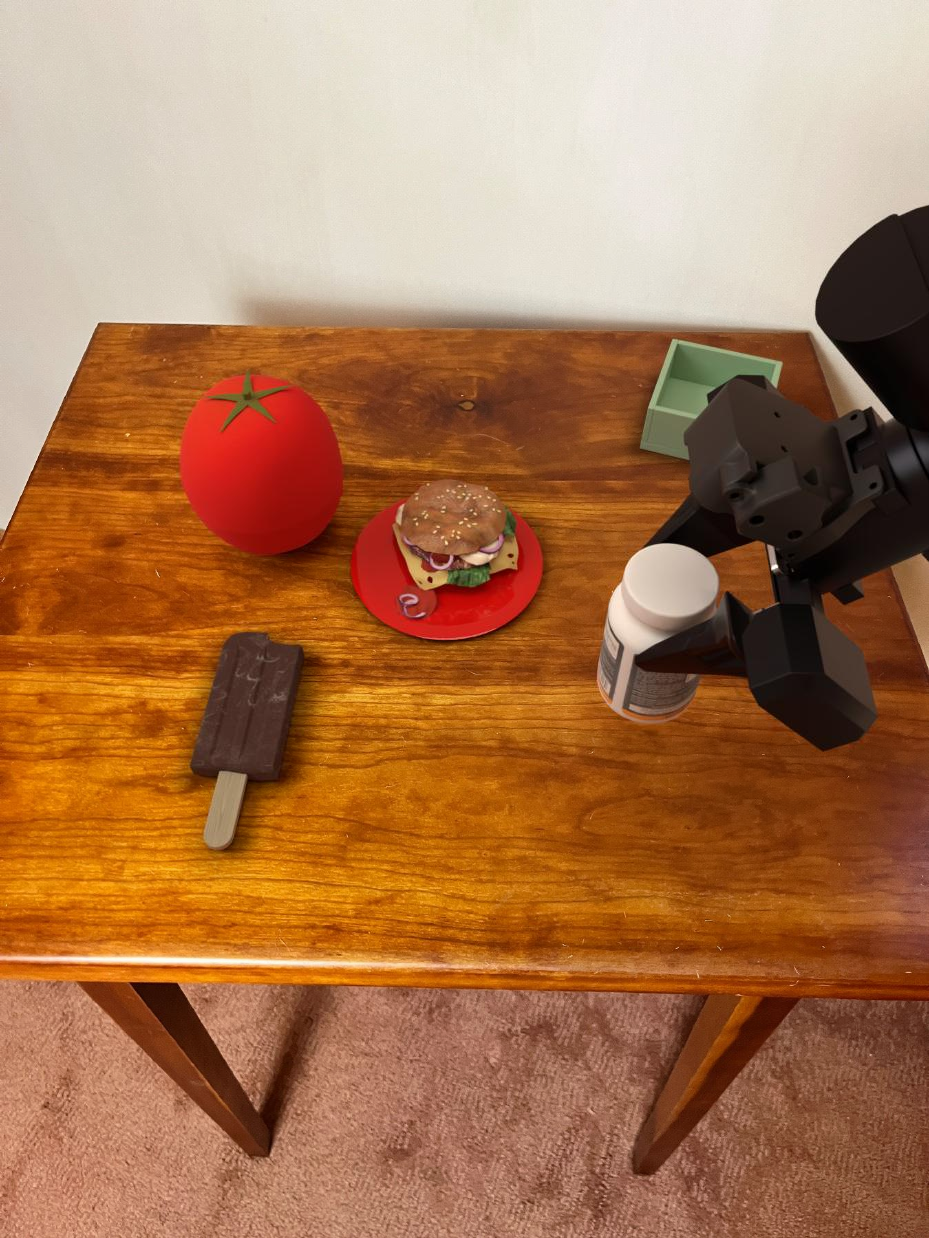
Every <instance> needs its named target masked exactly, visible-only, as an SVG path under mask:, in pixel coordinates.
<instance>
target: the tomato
mask: <svg viewBox="0 0 929 1238" xmlns="http://www.w3.org/2000/svg"><path fill="white" fill-rule="evenodd" d="M179 467H180V471H179V472H180V482H181V483H180V484H181V486H182V489H183V492H184V493H185V495H186V498H187V500H188V501H189V502H188V503H189V504H190V507H191V508H192V510H193V511H194V513H195V514H196V515H197V517H198V518H199V519H200V521H201V522H202V523H203V524H204V526H205V527H206V528H207V529H208V530H209V531H210V532H211V533H213V534H214V535H215V536H217V537H218V538H219V539H221V540H222V541H223V542H224V543H225V544H228V545H230V546H231V547H234V548H236V549H238V550H241V551H244V552H246V553H248V554H253V555H259V556H271V555H279V554H283V553H287V552H290V551H294V550H298V549H299V548H301V547H303V546H305V545H307V544H308V543H310V542H312V541H314V540H315V539H317V537H319V536H320V535H321V534H322V533H323V532H324V531H325V529H326V528H327V527H328V525H329V523H330V522H331V521H332V520H333V518H334V517H335V515H336V512H337V510H338V507H339V504H340V502H341V499H342V495H343V491H344V465H343V459H342V455H341V450H340V445H339V440H338V437H337V436H336V433H335V430H334V428H333V425H332V423H331V421H330V419H329V416H328V415H327V413H326V412H325V411H324V409H323V408H322V406H320V404H319V403H318V402H317V401H316V400H315V399H314V398H313V397H312V396H311V395H310V394H308V392H307V391H305V390H303V389H302V388H301V387H299V386H298V385H296V383H293V382H290V381H287V380H284V379H281V378H277V377H274V376H268V375H263V374H250V371H249V368H247V369H246V372H245V374H244V375H243V374H242V375H234V376H232V377H229V378H225V379H223V380H221V381H220V382H217V383H216V384H215V385H213V386H212V387H211V388H209V390H208V391H207V392H205V393H204V394H203V396H201V398H200V399H199V400H198V401H197V403H196V404H195V405H194V407H193V408H192V410H191V412H190V415H189V417H188V419H187V421H186V424H185V426H184V429H183V432H182V436H181V442H180V451H179Z"/></svg>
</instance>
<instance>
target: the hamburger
mask: <svg viewBox="0 0 929 1238" xmlns="http://www.w3.org/2000/svg"><path fill="white" fill-rule="evenodd" d="M543 571H544V559H543V553H542V549H541V545H540V543H539V539H538V538H537V536H536V534H535V532H534V531H533V529H532V528H531V527H530V525H529V524H528V523H527V522H526V520H524V518H523V517H521V516H520V515H519V514H518V513H516V512H515V511H514V510H512V509H511V508H510V507H508V505H505V504H503V502H502V500H501V499H500V497H499V496H498V495H496V493H494V492H493V491H491V490H490V488H489V487H488V486H484V485H480V484H474V483H469V482H464V481H461V480H458V479H452V478H447V479H446V478H444V479H438V480H435V481H431V482H429V483H426V484H423V485H420V486H419V485H418V487H417V488H416V490H415V491H414V493H412V494H411V495H410V496H408V497H406V498H403V499H401V500H398V501H396V502H394V503H392V504H390V505H388V506H387V507H386V508H384V509H382V510H381V511H380V512H378V513H377V514H376V515H375V516H374V517H373V518H371V519H370V521H369V522H368V523H367V524H366V525H365V526H364V527H363V528H362V530H361V532H360V533H359V535H358V537H357V539H356V540H355V543H354V546H353V549H352V552H351V557H350V577H351V581H352V585H353V588H354V590H355V592H356V594H357V596H358V598H359V600H360V601H361V602H362V604H363V605H364V607H366V609H367V610H368V611H369V613H371V614H372V615H373V616H374V617H376V618H377V619H378V620H379V621H381V622H382V623H384V624H385V625H387V626H389V627H390V628H392V629H394V630H397V631H399V632H401V633H404V634H407V635H410V636H413V637H417V638H421V639H429V640H438V641H451V640H453V641H454V640H463V639H468V638H469V639H470V638H473V637H478V636H481V635H485V634H488V633H490V632H492V631H494V630H496V629H498V628H500V627H502V626H505V625H506V624H507V623H510V622H511V621H512V620H514V618H516V617H517V616H518V615H519V614H521V612H523V611H524V610H525V609H526V607H527V606H528V605H529V604H530V602H531V601H532V599H533V598H534V596H535V595H536V594H537V591H538V589H539V586H540V584H541V581H542V576H543Z"/></svg>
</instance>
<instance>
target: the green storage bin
mask: <svg viewBox="0 0 929 1238" xmlns="http://www.w3.org/2000/svg"><path fill="white" fill-rule="evenodd" d="M782 368H783V361H780V360H775V359H771V358H766V357H761V356H757V355H753V354H752V355H751V354H748V353H743V352H739V351H733V350H730V349H729V350H728V349H723V348H721V347H720V348H719V347H715V346H710V345H705V344H700V343H696V342H692V341H686V340H681V339H676V338H672V340H671V342H670V345H669V348H668V351H667V354H666V356H665V360H664V362H663V365H662V368H661V370H660V373H659V376H658V378H657V381H656V385H655V387H654V390H653V393H652V396H651V399H650V401H649V405H648V407H647V411H646V416H645V421H644V425H643V430H642V436H641V440H640V444H639V445H640V446H639V449H641V450H643V451H644V450H645V451H648V452H652V453H656V454H657V453H658V454H661V455H665V456H670V457H674V458H677V459H682V460H686V461H689V453H688V446H686V445H685V444H684V432H685V430H686V429H687V428H688V427H689V426H690V425H691V424H692V422H693V421H694V420H695V419H696V418H697V417H698V416H699V415H700V413H701V412H702V411H703V410H704V409H705V408H706V407H707V405H708V401H707V394H708V393H709V392H711V391H712V390H714V389H716V388H717V387H719V386H720V385H722V384H724V383H725V382H727V381H728V380H730V379H732V378H733V377H735V376H736V375H764V376H765V377H766V378H767V379H768V380H769V381H770V382H771V383H772V384H773V386H774V387H775V388H776V389H777V390H778V384H779V381H780V377H781V371H782Z"/></svg>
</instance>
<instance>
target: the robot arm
mask: <svg viewBox="0 0 929 1238" xmlns="http://www.w3.org/2000/svg"><path fill="white" fill-rule="evenodd" d="M814 318H815V321H816V324H817V325H818V327H819V328H820V330H821V331H822V332H823V334H824V335H825V336H826V337H827V339H828V340H829V341H830V342H831V343H832V345H833V346H834V347H835V348H836V349H837V351H838V352H839V353H840V355H842V357H843V358H844V359H845V360H846V362H847V363H848V364H849V365H850V366H851V368H852V369H853V370H854V372H855V373H856V374H857V375H858V376H859V377H860V378H861V380H862V381H863V382H864V383H865V385H866V386H867V387H868V388H869V390H870V391H871V392H872V393H873V395H874V396H875V397H876V398H877V399H878V400H879V402H880V403H881V404H882V405H883V406H884V407H885V409H886V410H887V411H888V413H889V414H890V415H891V416H892V417H891V418H889V419H887V420H886V421H885V420H884V419H883V418H882V417H881V416H880V414H879V413H878V412H877V411H876V410H875V408H874V407H873V406H872V405H870V406H869V407H866V408H865V409H863V410H862V409H860V408H855V409H853V410H851V411H849V412H847V413H846V414H844V415H842V416H840V417H838V418H835V419H832V420H828V421H827V420H824V419H821V418H820V417H819V416H816V415H814V413H812V412H811V411H810V410H809V409H807V408H806V407H805V406H803V405H801V404H799V403H796V402H794V401H792V400H790V399H788V398H786V397H785V396H784V395H783V394H782V393H781V392H780V391H779V390H778V388H777V389H776V388H775V387H774V386H773V384H772V383H771V382H770V381H769V380H768V379H767V378H766V377H765V376H764V375H736V376H735V377H733V378H732V379H730V380H728V381H727V382H725V383H724V384H722V385H720V386H719V387H717V388H716V389H714V390H712V391H711V392H709V393H708V394H707V401H708V405H707V407H706V408H705V409H704V410H703V411H702V412H701V413H700V415H699V416H698V417H697V418H696V419H695V420H694V421H693V422H692V424H691V425H690V426H689V427H688V428H687V429H686V430H685V432H684V444H685V445H686V446H688V453H689V460H688V461H689V469H690V471H689V475H688V478H687V479H688V480H687V481H688V486H689V491H690V493H689V494H688V495H687V496H686V498H685V499H684V500H683V502H681V504H680V505H679V507H678V508H677V509H676V510H675V511H674V513H672V515H670V517H669V518H668V519H667V520H666V521H665V522H664V524H662V525H661V527H660V528H659V529H658V530H657V531H656V532H655V533H654V534H653V535H652V537H650V539H649V540H648V541H647V542H646V543H645V544H644V546H643V547H641V549H640V550H642V549H644V548H646V547H649V546H652V545H656V544H678V545H683V546H686V547H689V548H691V549H693V550H696V551H697V552H699V553H700V554H702V555H703V556H705V557H706V558H707V559H708V558H711V557H714V556H717V555H719V554H722V553H725V552H728V551H731V550H734V549H737V548H741V547H744V546H746V545H748V544H749V545H750V544H752V543H754V542H759V543H763V544H764V547H765V552H766V558H767V565H768V569H769V575H770V581H771V587H772V593H773V599H774V603H773V604H771V605H769V606H767V607H759V608H758V609H756V610H752V609H750V608H749V607H748V606H747V605H746V604H744V602H743V601H741V600H740V599H739V598H737V597H736V596H735V595H733V594H732V593H731V592H730V591H729V590H726V591H725V592H724V593H723V595H722V596H721V599H720V601H719V604H718V606H717V611H716V613H715V615H714V616H713V617H712V618H710V619H708V620H706V621H703V622H701V623H699V624H697V625H695V626H693V627H691V628H688V629H686V630H684V631H682V632H680V633H678V634H676V635H673V636H671V637H669V638H667V639H665V640H663V641H661V642H658V643H656V644H654V645H653V646H651V647H649V648H648V649H646V650H645V651H643V652H641V653H640V654H638V655H637V656H635V658H634V664H635V665H636V666H637V667H639V668H640V669H642V670H643V671H645V672H656V673H678V674H700V675H703V676H722V677H734V678H741V679H747V683H748V689H749V692H750V693H751V694H752V696H753V698H754V700H755V702H756V704H757V706H758V707H759V708H760V709H762V710H763V711H765V712H766V713H767V714H769V715H770V716H772V717H773V718H775V719H776V720H777V721H779V722H780V723H782V724H783V725H784V726H786V727H787V728H788V729H790V730H791V731H792V732H794V733H796V734H797V735H798V736H800V737H801V738H802V739H804V740H805V741H806V742H808V743H809V744H811V745H812V746H814V747H815V748H816V749H818V750H819V751H821V752H822V753H824V752H827V751H830V750H833V749H837V748H839V747H843V746H846V745H849V744H852V743H855V742H858V741H860V740H861V739H862V738H864V736H865V735H866V734H867V733H868V732H869V731H870V729H871V728H872V727H873V725H874V724H875V722H876V721H877V719H878V718H879V715H878V710H877V706H876V702H875V698H874V694H873V690H872V685H871V681H870V676H869V672H868V668H867V664H866V660H865V655H864V651H863V649H862V648H861V647H860V646H859V645H857V643H855V642H854V641H853V640H852V639H851V638H850V637H848V636H847V635H846V634H845V633H844V632H843V631H841V630H840V629H839V628H838V627H837V625H835V624H833V623H832V622H831V621H830V620H829V619H828V618H827V616H826V612H825V607H824V602H823V598H822V596H825V595H826V594H831V595H833V597H835V599H837V600H838V602H839V603H841V604H842V605H843V606H846V605H849V604H851V603H853V602H856V601H858V600H861V599H863V598H865V597H866V595H865V591H864V586H863V582H862V580H864V579H865V578H867V577H870V576H872V575H874V574H876V573H879V572H881V571H883V570H886V569H888V568H890V567H894V566H895V565H898V564H900V563H902V562H905V561H907V560H909V559H911V558H914V557H916V556H919V555H922V557H923V558H924V559H925V560H926V561H927V562H928V563H929V204H927V205H923V206H919V207H915V208H914V209H911V210H908V211H907V212H904V213H902V214H900V215H899V214H898V213H892V214H889V215H888V216H886V217H884V218H883V219H881V220H879V221H878V222H876V223H875V224H874V225H873V226H871V227H869V228H868V229H867V230H866V231H864V232H863V233H862V234H861V235H859V236H858V237H856V239H854V241H853V242H852V243H851V244H849V246H848V247H847V248H846V249H844V250H843V252H841V254H840V255H839V256H838V257H837V259H836V260H835V262H834V263H833V264H832V266H831V267H829V269H828V271H827V272H826V275H825V277H824V279H823V280H822V282H821V284H820V286H819V289H818V292H817V295H816V298H815V304H814Z"/></svg>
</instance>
